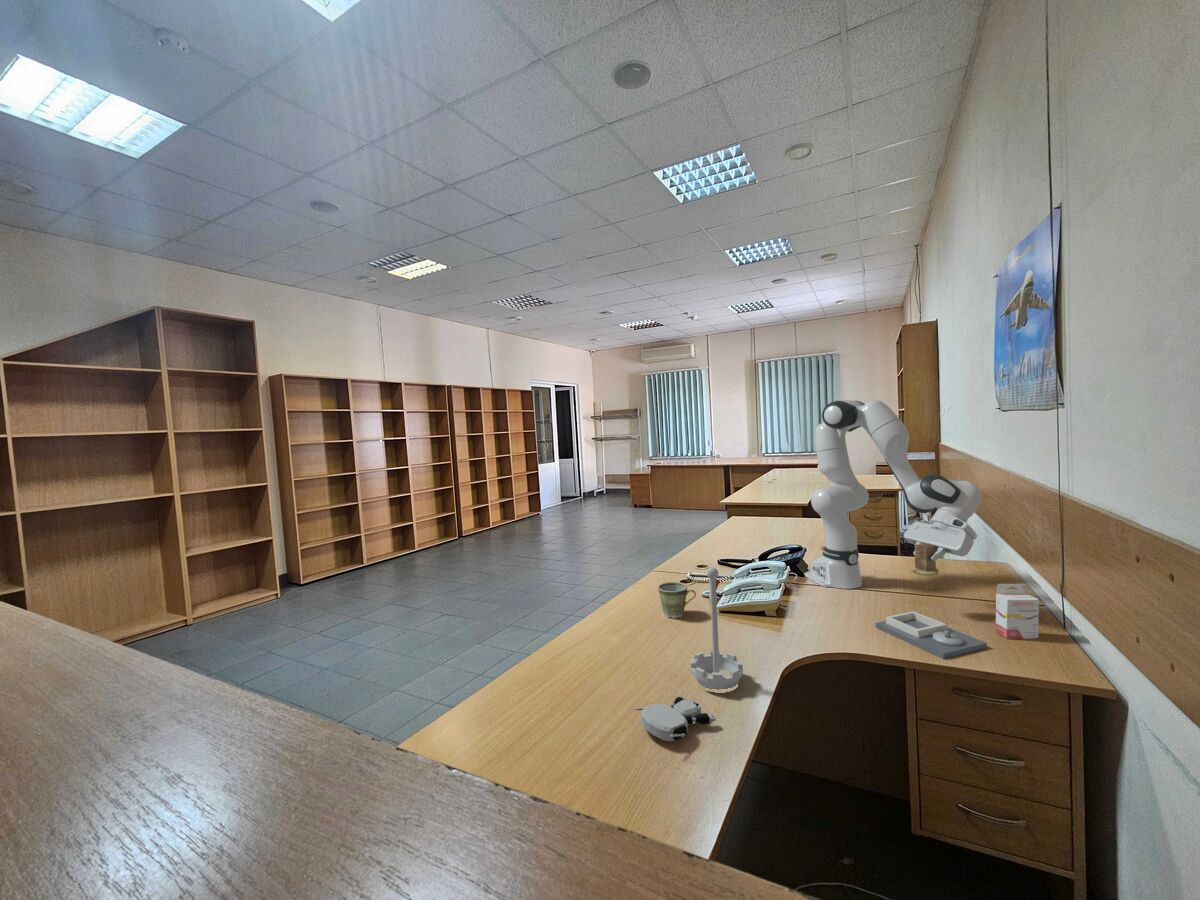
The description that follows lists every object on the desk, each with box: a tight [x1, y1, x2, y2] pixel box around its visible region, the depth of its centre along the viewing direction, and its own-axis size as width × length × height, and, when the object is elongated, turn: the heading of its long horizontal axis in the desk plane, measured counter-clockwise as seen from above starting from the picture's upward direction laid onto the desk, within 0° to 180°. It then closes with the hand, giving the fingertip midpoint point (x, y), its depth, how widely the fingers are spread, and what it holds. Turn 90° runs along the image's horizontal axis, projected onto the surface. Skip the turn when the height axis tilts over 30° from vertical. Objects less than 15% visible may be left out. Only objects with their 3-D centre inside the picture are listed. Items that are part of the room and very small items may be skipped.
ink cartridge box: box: [995, 583, 1040, 640], centre depth 143 cm, size 9×5×15 cm, turn 84°
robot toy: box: [633, 695, 717, 742], centre depth 109 cm, size 12×4×15 cm
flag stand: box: [690, 566, 744, 690], centre depth 126 cm, size 13×13×30 cm
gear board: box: [875, 610, 988, 660], centre depth 145 cm, size 22×16×4 cm
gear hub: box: [912, 543, 939, 577], centre depth 160 cm, size 7×7×9 cm
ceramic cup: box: [657, 581, 697, 619], centre depth 171 cm, size 13×10×10 cm
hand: (923, 557), depth 159 cm, fingers closed on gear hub, 4 cm apart
